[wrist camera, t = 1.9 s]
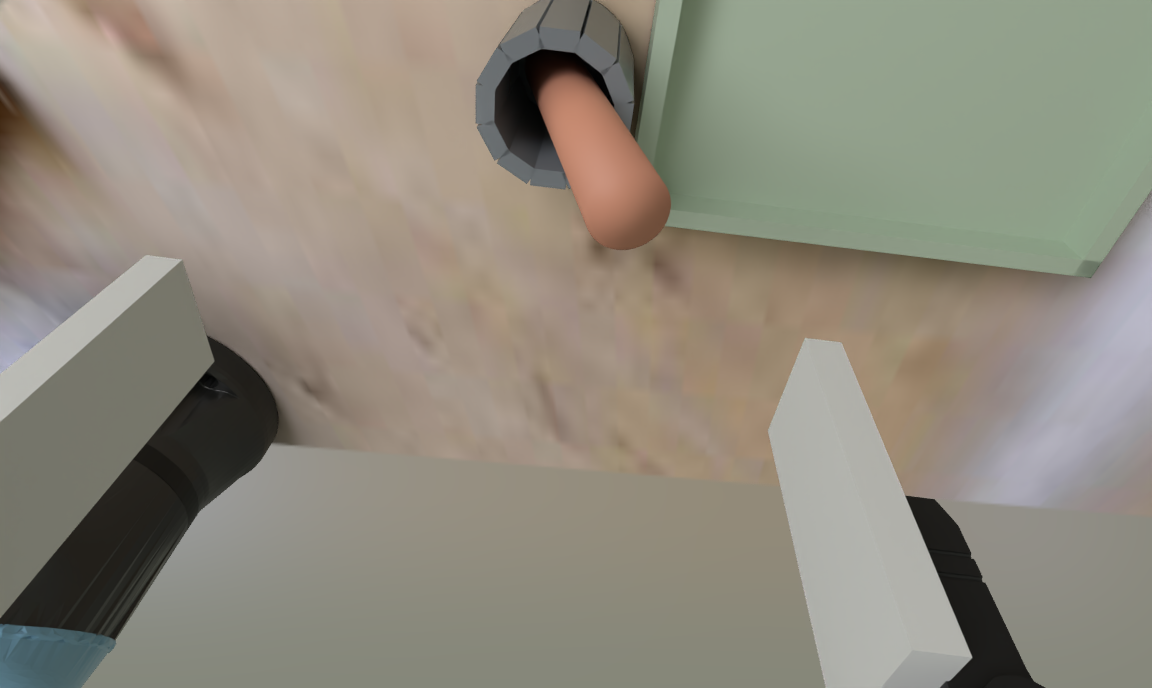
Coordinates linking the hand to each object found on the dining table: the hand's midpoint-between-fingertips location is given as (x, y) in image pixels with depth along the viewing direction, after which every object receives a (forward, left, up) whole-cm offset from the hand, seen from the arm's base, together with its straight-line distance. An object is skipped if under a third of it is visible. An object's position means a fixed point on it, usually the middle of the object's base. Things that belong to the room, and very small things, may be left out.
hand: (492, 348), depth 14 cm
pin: (0, 0, -24) cm, 24 cm away
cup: (0, 0, -24) cm, 24 cm away
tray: (+17, +2, -24) cm, 30 cm away
